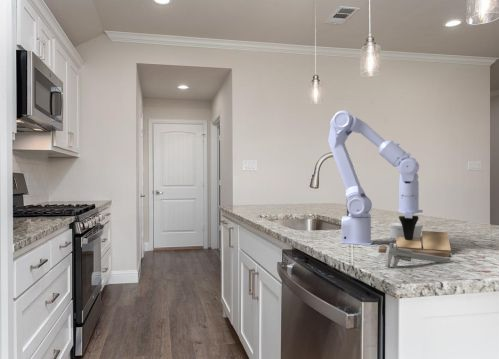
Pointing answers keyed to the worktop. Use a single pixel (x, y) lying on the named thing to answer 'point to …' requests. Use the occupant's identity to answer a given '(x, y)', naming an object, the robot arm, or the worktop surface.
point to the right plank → (436, 241)
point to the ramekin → (397, 230)
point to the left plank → (408, 243)
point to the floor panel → (420, 251)
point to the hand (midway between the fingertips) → (408, 239)
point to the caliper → (408, 256)
